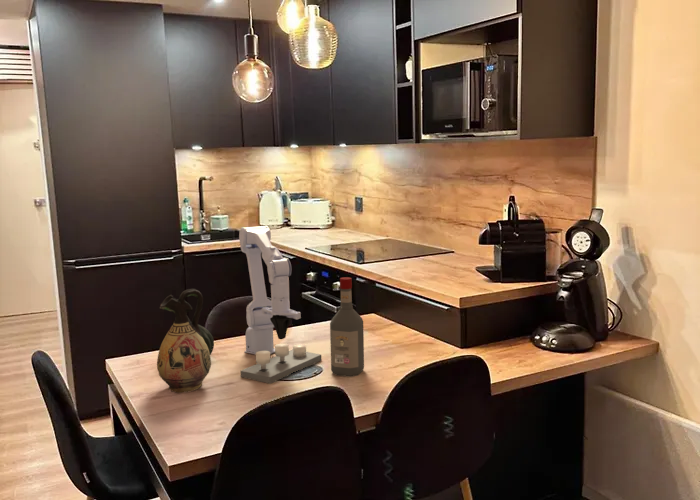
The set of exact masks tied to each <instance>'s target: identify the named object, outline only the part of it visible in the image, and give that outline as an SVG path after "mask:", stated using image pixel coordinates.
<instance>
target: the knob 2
mask: <svg viewBox="0 0 700 500" xmlns="http://www.w3.org/2000/svg"><path fill="white" fill-rule="evenodd" d="M292 349H293V356H295V357H303V356H306V352H307V345H306V344H302V343H298V344H294V345H292Z"/></svg>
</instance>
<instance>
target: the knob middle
mask: <svg viewBox="0 0 700 500" xmlns="http://www.w3.org/2000/svg"><path fill="white" fill-rule="evenodd" d="M289 347H290V346H289V344H288V343H277V344H275V345H274V348H275V352H274V355H275V356H279V357H280V361H285V356H288V355H289V351H290V348H289Z"/></svg>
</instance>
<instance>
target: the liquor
mask: <svg viewBox="0 0 700 500" xmlns="http://www.w3.org/2000/svg"><path fill="white" fill-rule="evenodd" d="M352 281H353V280H352V277H348V276H346V277H344V276H343V277H340V278H339V288H340V307H339V310H338V311H337V312H336V313H335V315H334V316H333V317H332V318H331V319H330V323H329V333H330V334H329V338H330V370H331V372H332V374H334V375H335V376H339V377H347V378H352V377H357V376H359V375H360V374H361V373H362V372H363V371H364V369H365V341H364V340H365V337H364V334H365V333H364V321H363V320H364V319H363V318H362V316H361V315H360V314H359V313H358V312H357V311H356V310H355V309H354V306H353V301H352V299H353V298H352V296H353V295H352V288H353V282H352Z"/></svg>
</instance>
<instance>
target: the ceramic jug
mask: <svg viewBox="0 0 700 500" xmlns="http://www.w3.org/2000/svg"><path fill="white" fill-rule="evenodd" d="M188 297H194V298H195V299H197V302H196V307H195V311H194V314H193V317H192V319H190V318H189V316H188V315H187V314H188V313H189V312H192V310H193V306H192V305H191V304H190V303H189V302H187V301H186V300H185V299H186V298H188ZM203 305H204V297H203V294H202V292H200V290H198V289H196V288H188V289H185V290H184V291H182V292H181V294H179V297H178V298H176V297H174V295H172V294H169V295H168V296H166V298H164V300H163V301H162V302H161V303H160V306H159V309H161V310H164V311H169V312H171V313H174V315H175V318H174V321H173V324H172V325H171V326H170V328H169V330H168V331H167V333H166V335H165V336H164V338H163V340H162V342H161V344H160V347H159V349H158V350H159V351H158V355H157V360H156V361H157V362H156V365H157V366H156V368H157V372H158V375H159V377H160V378H161V379H162V380H163V382H164V383H166V384H167V385H168V390H170V391H171V392H173V393H177V394H178V393H180V394H181V393H190V392H194V391H196V390H198V389H199V388H201V387H202V385H203V381H204V380H205V379H206V377H207V375H209V373H210V369H211V366H212V359H211V355H210V353H209V349H208V346H207V344H206V343H205V341H204V339H203V337H202V336H201V333H200V329H199V326H198V324H199V319H200V317H201V312H202V309H203Z"/></svg>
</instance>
